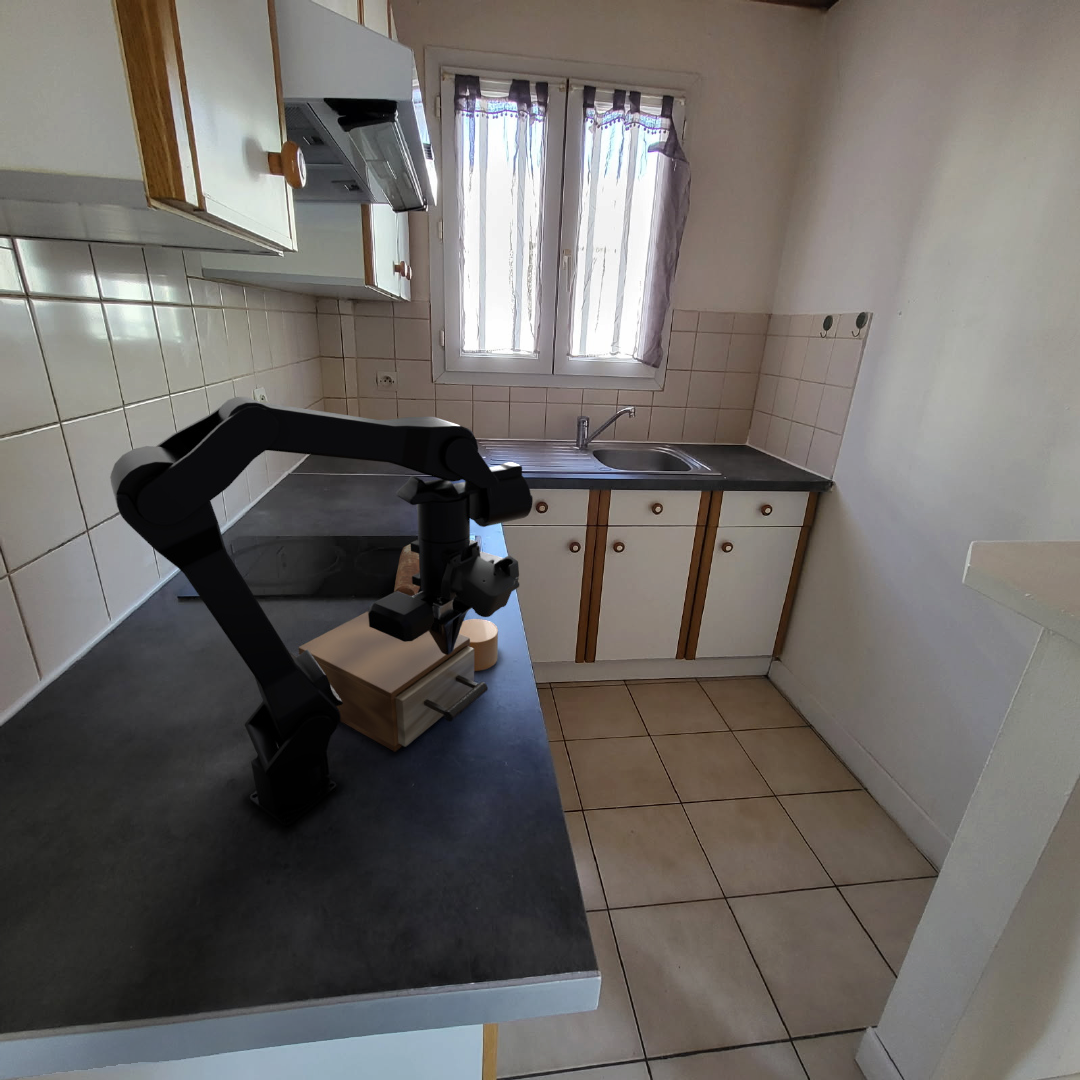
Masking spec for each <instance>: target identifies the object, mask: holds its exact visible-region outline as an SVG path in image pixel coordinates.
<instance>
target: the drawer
mask: <svg viewBox="0 0 1080 1080" xmlns="http://www.w3.org/2000/svg"><path fill="white" fill-rule="evenodd" d="M488 690H489V686H488V685H487V683H485V682H484V681H480V682H479V683H478V682H476V681H475V671H474V648H471V647H469V646H467V647H465V648H464V649H462V650H461V651H460V652H458V653H457V652H456V653H455V654H454V655H452V656H451V657H449V658H448V659H447V660H445V661H444V662H442V663H441V664H440V665H438V666H437V667H435V668H434V669H433V670H431V671H430V672H428V673H427V674H425V675H424V676H423V677H421V678H420V679H418V680H417V681H416V682H414V683H413V684H411V685H410V686H409V687H407V688H406V689H404V690H403V691H402V692H400V693H399V694H397V695H396V713H397V728H398V743H399V744H401V745H403V746H402V747H405V748H406V747H407V746H409V745H410V744H411V743H412V742H413V741H414V740H416V739H417V738H418V737H420V736H421V735H422V734H423V733H424V732H426V731H427V730H428V729H429V728H431V726H433V725H434V724H435V723H437V722H438V721H439V720H440V719H441V718H442V717H444V719H445V720H446V721H447V722H449V723H450V722H451V723H452V722H453V721H454V720H455V719H456V718H457V717H459V716H460V715H461V714H462V713H464V711H465V710H467V709H468V708H469V707H471V706H472V705H473V704H475V702H476V701H478V700H479V699H480V698H481V697H482V696H483V695H485V694H486V693H487V692H488Z"/></svg>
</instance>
